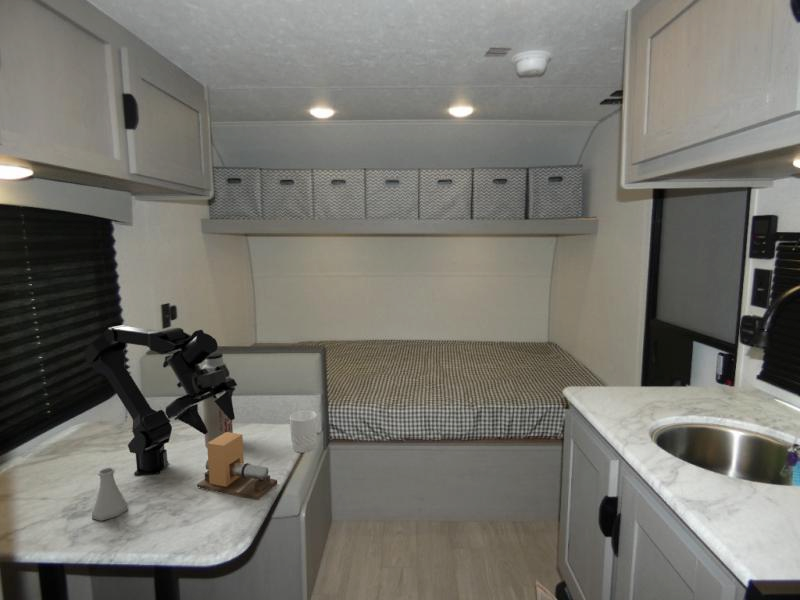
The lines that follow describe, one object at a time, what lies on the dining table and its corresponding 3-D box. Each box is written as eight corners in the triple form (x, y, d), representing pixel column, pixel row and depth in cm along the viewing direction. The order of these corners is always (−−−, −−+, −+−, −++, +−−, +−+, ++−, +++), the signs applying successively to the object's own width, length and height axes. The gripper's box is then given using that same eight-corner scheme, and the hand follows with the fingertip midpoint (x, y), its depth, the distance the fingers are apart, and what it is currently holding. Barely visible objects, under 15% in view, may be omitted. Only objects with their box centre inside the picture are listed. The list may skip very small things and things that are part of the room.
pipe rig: (197, 487, 116) (195, 464, 115) (219, 472, 123) (217, 450, 123) (258, 500, 110) (256, 475, 109) (277, 483, 118) (276, 460, 117)
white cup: (291, 455, 133) (289, 422, 132) (290, 444, 141) (288, 412, 139) (319, 452, 135) (317, 419, 134) (316, 440, 143) (315, 409, 141)
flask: (121, 499, 111) (117, 460, 110) (133, 510, 107) (130, 469, 105) (86, 513, 106) (82, 471, 104) (98, 525, 101) (93, 482, 100)
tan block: (209, 483, 115) (207, 443, 114) (228, 470, 122) (226, 432, 120) (226, 486, 114) (223, 445, 112) (244, 473, 120) (242, 434, 119)
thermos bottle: (238, 442, 142) (233, 353, 138) (214, 452, 136) (208, 358, 132) (223, 436, 147) (218, 349, 143) (200, 445, 140) (193, 354, 137)
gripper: (177, 366, 105) (212, 425, 103) (234, 348, 122) (265, 399, 120) (150, 389, 109) (183, 447, 107) (209, 369, 126) (238, 418, 125)
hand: (220, 426), depth 115 cm, fingers open, 9 cm apart
